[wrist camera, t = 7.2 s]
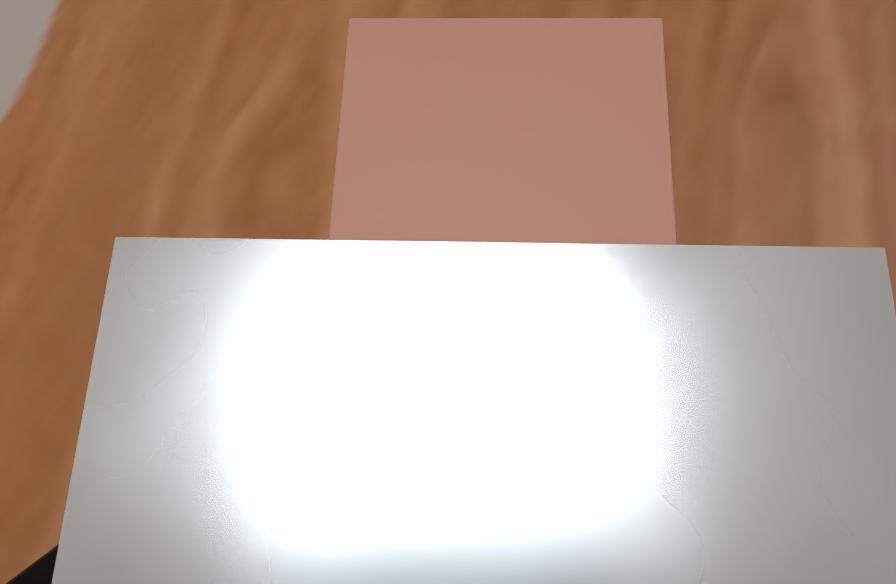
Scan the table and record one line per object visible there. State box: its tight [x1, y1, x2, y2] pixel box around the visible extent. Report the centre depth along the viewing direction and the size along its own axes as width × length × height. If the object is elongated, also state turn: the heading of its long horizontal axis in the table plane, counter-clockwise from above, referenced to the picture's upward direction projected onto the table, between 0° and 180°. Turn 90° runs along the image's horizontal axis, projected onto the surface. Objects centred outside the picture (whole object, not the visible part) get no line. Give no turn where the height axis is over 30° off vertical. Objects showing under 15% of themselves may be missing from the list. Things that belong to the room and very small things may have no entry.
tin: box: [52, 237, 896, 584], centre depth 9 cm, size 6×6×10 cm
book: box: [329, 18, 676, 245], centre depth 22 cm, size 11×16×3 cm
